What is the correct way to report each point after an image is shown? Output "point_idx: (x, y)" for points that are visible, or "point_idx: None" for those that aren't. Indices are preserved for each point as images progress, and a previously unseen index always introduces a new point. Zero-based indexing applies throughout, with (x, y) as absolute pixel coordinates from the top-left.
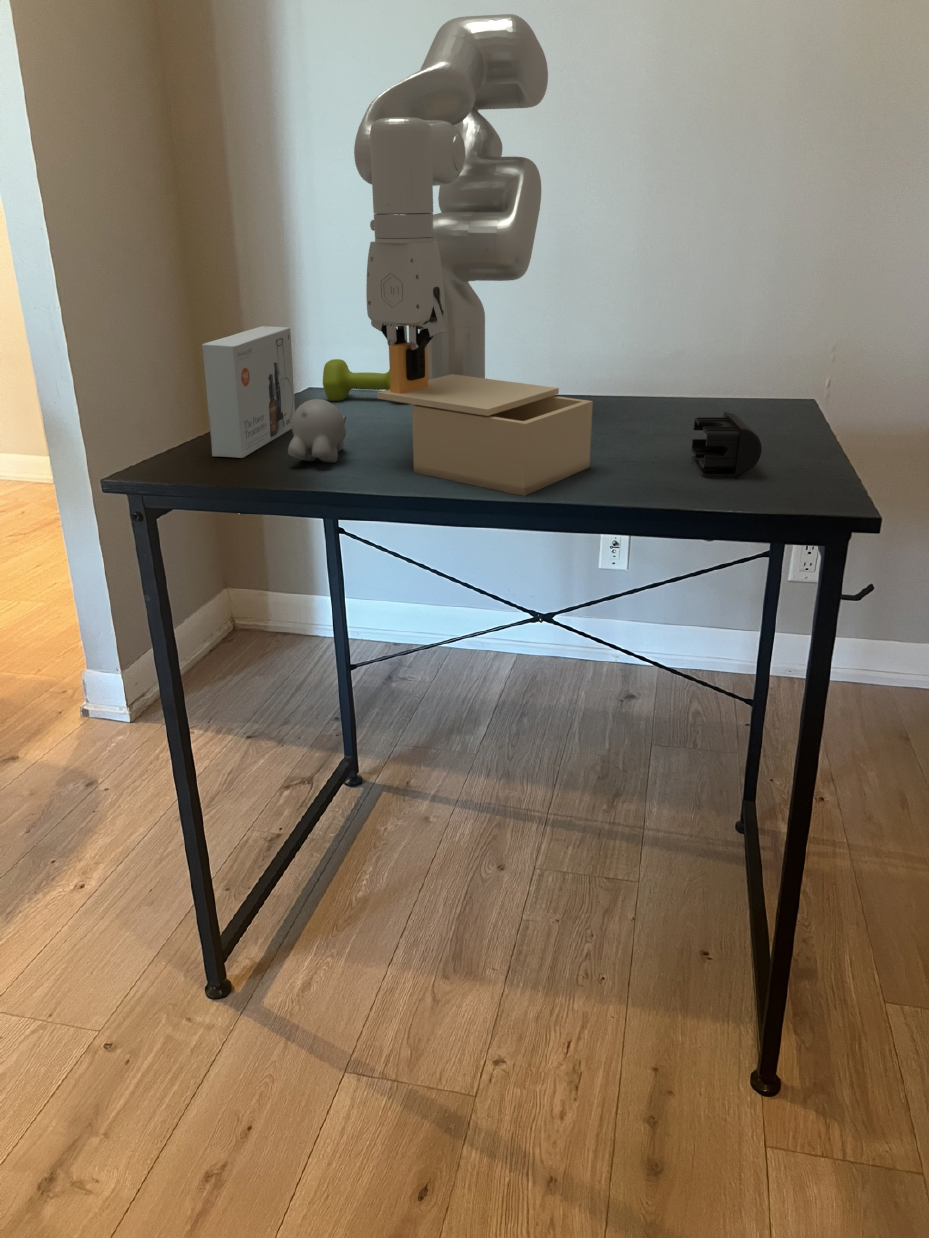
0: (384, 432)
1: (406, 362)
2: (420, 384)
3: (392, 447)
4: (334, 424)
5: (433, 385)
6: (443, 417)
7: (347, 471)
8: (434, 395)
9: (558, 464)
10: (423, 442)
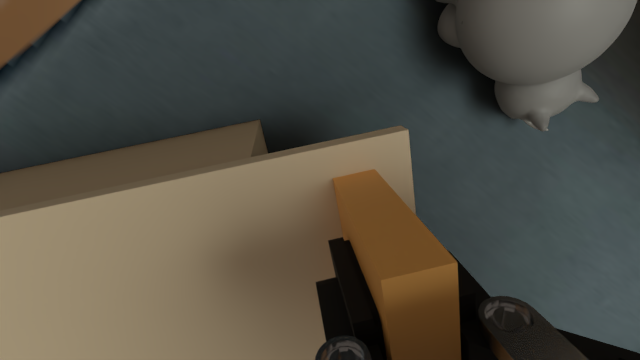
0: (527, 248)
1: (362, 277)
2: None
3: (439, 199)
4: (474, 14)
5: None
6: (117, 182)
7: (370, 13)
8: (220, 244)
9: None
10: (220, 142)
